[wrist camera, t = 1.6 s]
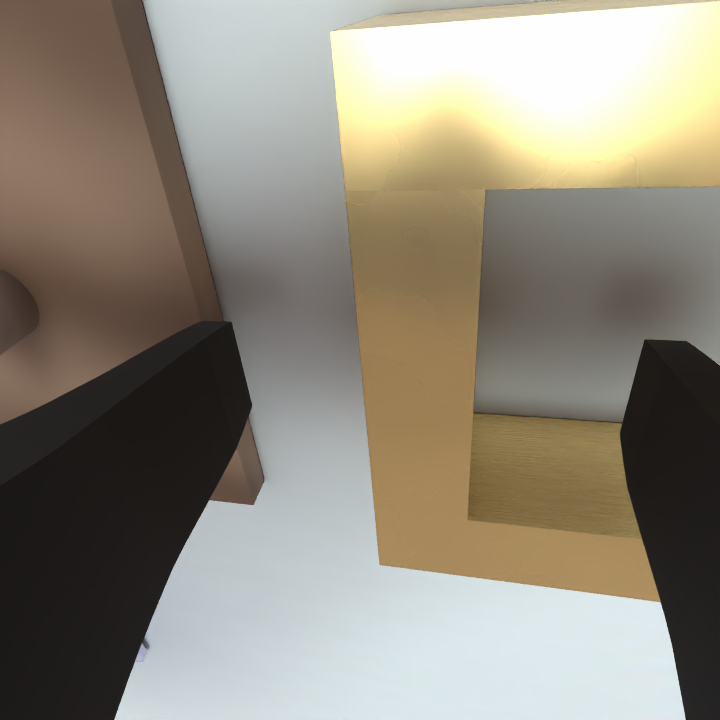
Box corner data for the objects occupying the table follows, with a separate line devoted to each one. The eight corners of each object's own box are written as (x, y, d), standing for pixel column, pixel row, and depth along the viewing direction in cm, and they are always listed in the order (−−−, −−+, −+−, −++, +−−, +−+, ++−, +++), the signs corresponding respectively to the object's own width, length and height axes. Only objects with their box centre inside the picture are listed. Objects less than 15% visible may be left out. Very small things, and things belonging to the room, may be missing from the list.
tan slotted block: (836, 499, 13) (925, 636, 11) (400, 460, 16) (379, 564, 13) (1183, -52, 7) (1615, -68, 4) (378, 15, 10) (330, 31, 7)
